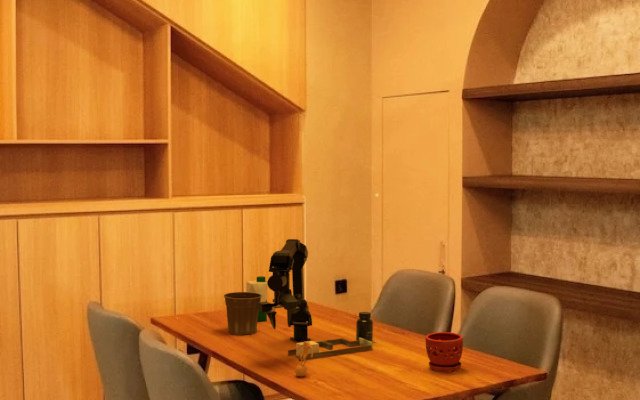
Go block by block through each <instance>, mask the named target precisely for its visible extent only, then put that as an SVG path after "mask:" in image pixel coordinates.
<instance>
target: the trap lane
mask: <svg viewBox="0 0 640 400" xmlns="http://www.w3.org/2000/svg"><path fill="white" fill-rule="evenodd" d="M315 342H316V343H318V344H319V348H320V347H321V348H324V349H326V350H325V351H319V352H318V353H313V357H312V358H311V355H312V353H311V354H308V355H307V357H306V358H305V359H306V361H311V360H314V359H322V358H323V359H324V358H328V357H334V356H343V355H349V354H355V353H360V352H361V353H363V352H368V351H373V349H374V341H372V342H370V341H368V340H365V339H363V338H359V340H356V339H355V340H351V341H350V340H348V339H346V338H335V339H327V340H319V341H315ZM341 344H342V345H345V346H347V348H346V347H345V348H340V349H334V348H333V347H334V345H336V346H337V345H341ZM295 355H296V348H293V349H288V350H287V356H289V357H290V356H295ZM302 359H303V357H302ZM298 361H299V362H302V360H301V359H300V355H299V357H298Z"/></svg>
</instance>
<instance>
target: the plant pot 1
mask: <svg viewBox="0 0 640 400" xmlns="http://www.w3.org/2000/svg"><path fill="white" fill-rule="evenodd" d="M261 297H262V295H261V294H259V293H253V292H246V291H236V292H228V293H225V294H224V295H223V298H224V302H225V306H226V317H227V331H228V333H230V334H231V335H235V336H245V335H253V334H256V333H257V331H258V330H257V329H258V323H259V322H258V312H259V311H258V310H256V305H257V303H258V302H260V300H261Z"/></svg>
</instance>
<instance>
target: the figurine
mask: <svg viewBox="0 0 640 400" xmlns="http://www.w3.org/2000/svg"><path fill="white" fill-rule="evenodd" d="M303 342H304V343H303V345H301V346H300V347H299V348H298V349H297V351H298V350H299V349H300V348H301V347H302V346H303V349H304V351H302V354H301V355H300V359H301V360H302V361H300V363H299V364H298V365H297V366H296V367H295V375H296V376H298V377H300V378H301V377H305V376H306V374H307V371H308V370H307V367H306V366H305V365H306V362H307V360H306V359H305V358H306V357H307V355H308V352H307V351H308V350H309V348H311V349H312V355H311V358H312V357H313V348H312V347H311V345H310V343H309V341H303ZM297 351H296V352H297ZM302 357H303V359H302Z"/></svg>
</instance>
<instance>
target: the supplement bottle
mask: <svg viewBox="0 0 640 400" xmlns="http://www.w3.org/2000/svg"><path fill="white" fill-rule="evenodd" d="M371 318H372V314H371V312H369V311H359V313H358V319H357V320H356V322H355V323H356V324H355V327H356V328H355V341H356V340H359V338H363V339H365V340H368V341H370V342H374V339H373V338H374V321H373V320H372V319H371Z"/></svg>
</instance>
